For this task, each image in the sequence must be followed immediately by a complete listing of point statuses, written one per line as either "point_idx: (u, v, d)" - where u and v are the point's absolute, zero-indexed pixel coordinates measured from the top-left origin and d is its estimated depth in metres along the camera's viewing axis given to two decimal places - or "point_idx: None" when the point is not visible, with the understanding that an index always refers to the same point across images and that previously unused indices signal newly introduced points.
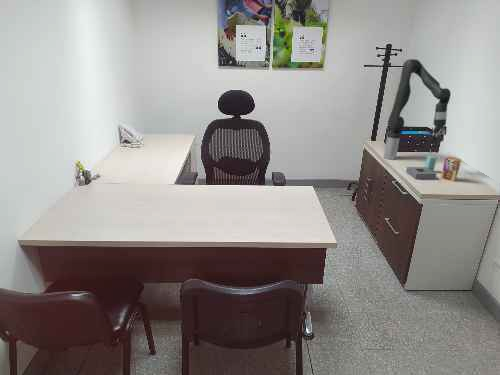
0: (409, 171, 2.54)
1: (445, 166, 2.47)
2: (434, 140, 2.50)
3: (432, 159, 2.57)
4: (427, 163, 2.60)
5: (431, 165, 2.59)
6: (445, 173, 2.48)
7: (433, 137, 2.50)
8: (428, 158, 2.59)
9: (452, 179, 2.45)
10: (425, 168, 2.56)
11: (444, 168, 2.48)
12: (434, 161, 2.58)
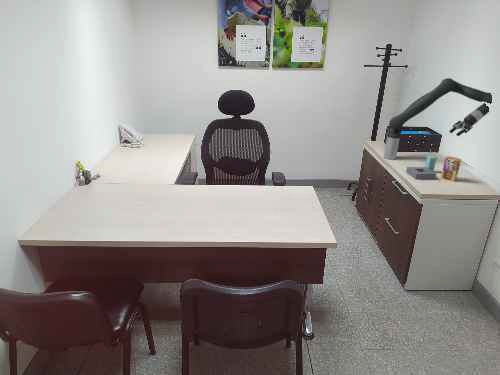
0: (409, 171, 2.54)
1: (445, 166, 2.47)
2: (460, 134, 2.48)
3: (432, 159, 2.57)
4: (427, 163, 2.60)
5: (431, 165, 2.59)
6: (445, 173, 2.48)
7: (462, 131, 2.47)
8: (428, 158, 2.59)
9: (452, 179, 2.45)
10: (425, 168, 2.56)
11: (444, 168, 2.48)
12: (434, 161, 2.58)
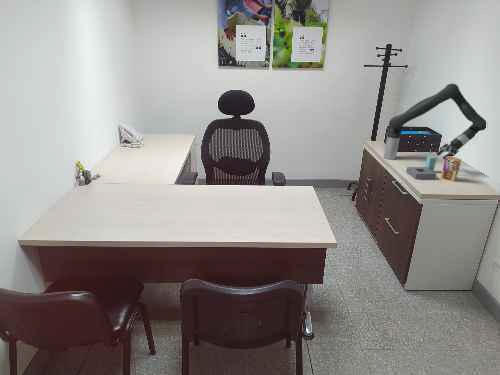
0: (409, 171, 2.54)
1: (445, 166, 2.47)
2: None
3: (432, 159, 2.57)
4: (427, 163, 2.60)
5: (431, 165, 2.59)
6: (445, 173, 2.48)
7: (448, 155, 2.53)
8: (428, 158, 2.59)
9: (452, 179, 2.45)
10: (425, 168, 2.56)
11: (444, 168, 2.48)
12: (434, 161, 2.58)
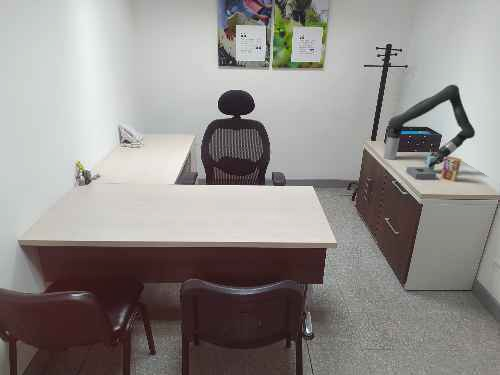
0: (409, 171, 2.54)
1: (445, 166, 2.47)
2: (432, 165, 2.57)
3: (432, 159, 2.57)
4: (427, 163, 2.60)
5: None
6: (445, 173, 2.48)
7: (434, 163, 2.57)
8: (428, 158, 2.59)
9: (452, 179, 2.45)
10: (425, 168, 2.56)
11: (444, 168, 2.48)
12: None
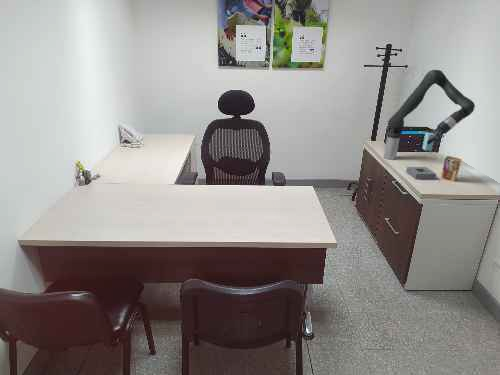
0: (409, 171, 2.54)
1: (445, 166, 2.47)
2: (430, 142, 2.41)
3: (430, 136, 2.41)
4: (425, 140, 2.44)
5: None
6: (445, 173, 2.48)
7: (432, 139, 2.40)
8: (426, 135, 2.43)
9: (452, 179, 2.45)
10: (425, 168, 2.56)
11: (444, 168, 2.48)
12: None
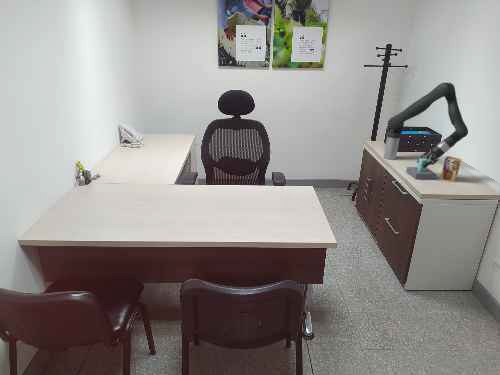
0: (409, 171, 2.54)
1: (445, 166, 2.47)
2: (426, 166, 2.46)
3: (424, 162, 2.48)
4: (419, 166, 2.51)
5: (423, 167, 2.49)
6: (445, 173, 2.48)
7: (428, 163, 2.45)
8: (420, 160, 2.50)
9: (452, 179, 2.45)
10: None
11: (444, 168, 2.48)
12: None
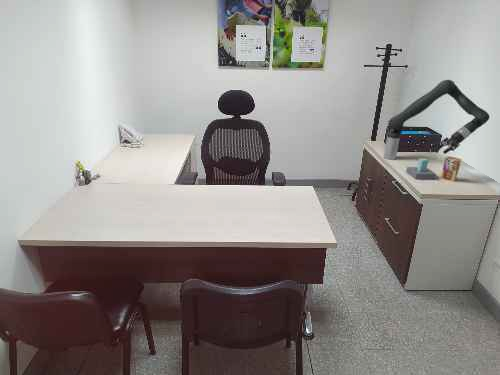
0: (409, 171, 2.54)
1: (445, 166, 2.47)
2: None
3: (424, 162, 2.48)
4: (419, 166, 2.51)
5: (423, 167, 2.49)
6: (445, 173, 2.48)
7: (449, 149, 2.42)
8: (420, 160, 2.50)
9: (452, 179, 2.45)
10: None
11: (444, 168, 2.48)
12: (426, 164, 2.48)
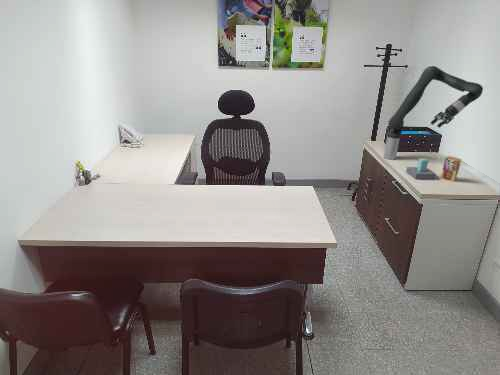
0: (409, 171, 2.54)
1: (445, 166, 2.47)
2: (441, 125, 2.41)
3: (424, 162, 2.48)
4: (419, 166, 2.51)
5: (423, 167, 2.49)
6: (445, 173, 2.48)
7: (443, 122, 2.41)
8: (420, 160, 2.50)
9: (452, 179, 2.45)
10: None
11: (444, 168, 2.48)
12: (426, 164, 2.48)
